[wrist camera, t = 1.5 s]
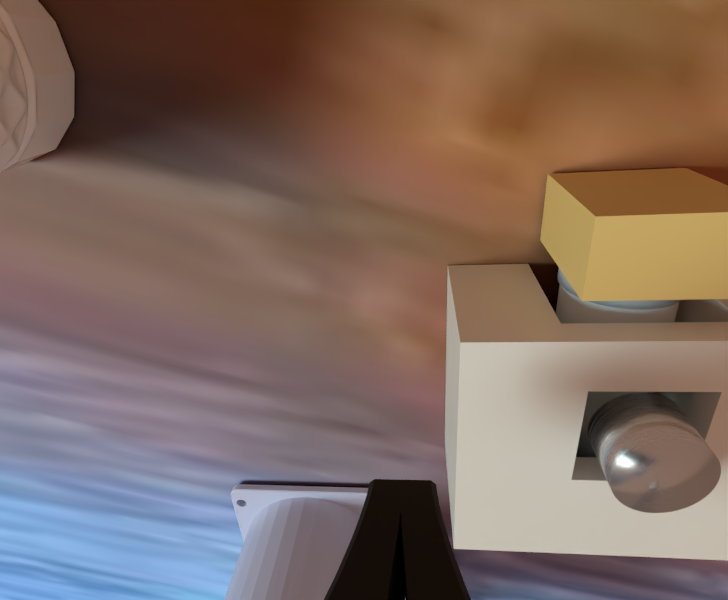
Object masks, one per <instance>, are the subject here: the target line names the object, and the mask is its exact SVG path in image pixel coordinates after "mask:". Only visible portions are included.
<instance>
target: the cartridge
mask: <svg viewBox="0 0 728 600" xmlns="http://www.w3.org/2000/svg"><path fill="white" fill-rule="evenodd" d="M540 241H541V242H542V243H543V245H544V246H545V248H546V249H547V251H548V252H549V254H550V255H551V257H552V258H553V260H554V261H555V263H556V264H557V265H558V267H559V269H558V277H557V278H558V282H559V284H560V285H559V293H558V300H557V307H556V316H557V317H558V319H559V321H560V323H561V324H571V323H674V321H675V317H676V314H677V310H678V306H679V302H680V301H681V300H695V299H728V185H726V184H723V183H721V182H719V181H716V180H714V179H711V178H709V177H707V176H704V175H702V174H699V173H697V172H695V171H692V170H690V169H687V168H668V169H645V170H622V171H600V172H577V173H554V174H548V176H547V185H546V194H545V203H544V212H543V221H542V230H541V239H540ZM629 393H635V392H613V391H588V395H587V400H586V406H585V411H584V416H583V422H582V427H581V432H580V438H579V443H578V448H577V453H576V457H596V455H595V453H594V451H593V448H592V446H591V444H590V442H589V439H588V435H587V429H588V424H589V421H590V419H591V417H592V416H593V414H594V413H595V412H596V411H597V410H598V409H599V408H600V407H601V406H602V405H604V404H605V403H606V402H608V401H610V400H612V399H614V398H616V397H618V396H621V395H624V394H629ZM652 393H655V392H652Z"/></svg>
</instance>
